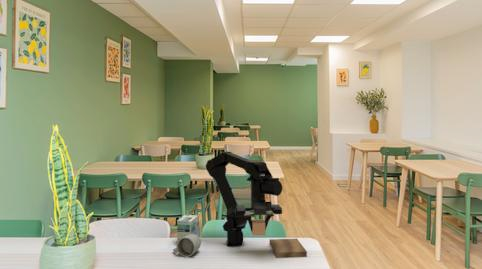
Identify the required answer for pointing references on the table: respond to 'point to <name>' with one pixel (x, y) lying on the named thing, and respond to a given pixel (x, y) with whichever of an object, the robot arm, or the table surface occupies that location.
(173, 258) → the table surface
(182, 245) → the ceramic mug
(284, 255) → the walnut board
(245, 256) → the table surface
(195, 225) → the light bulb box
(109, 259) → the table surface
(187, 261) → the table surface
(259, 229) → the terracotta cube
